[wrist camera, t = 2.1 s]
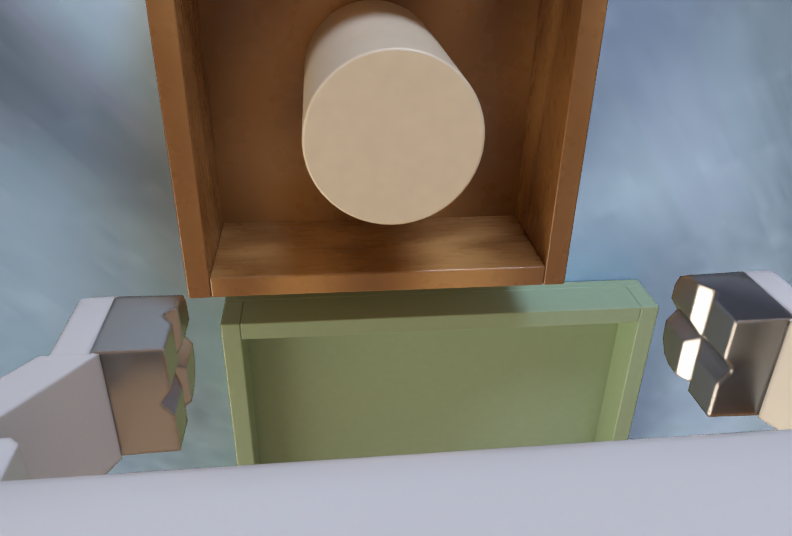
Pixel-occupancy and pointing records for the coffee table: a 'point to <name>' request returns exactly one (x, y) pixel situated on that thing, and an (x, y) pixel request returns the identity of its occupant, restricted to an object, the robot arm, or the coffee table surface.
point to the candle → (387, 116)
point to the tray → (433, 369)
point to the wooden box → (297, 193)
